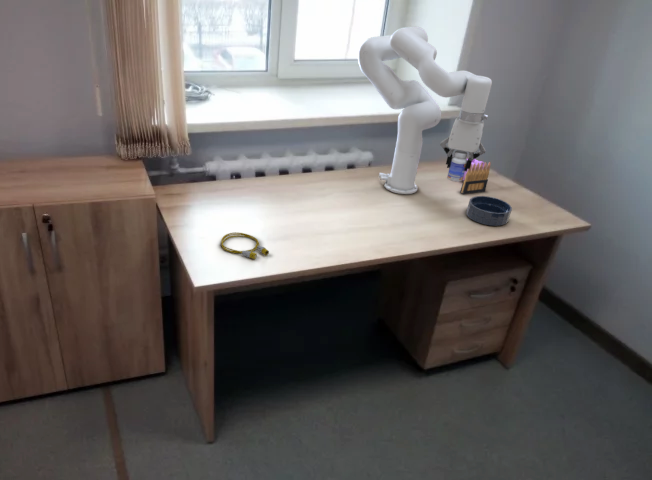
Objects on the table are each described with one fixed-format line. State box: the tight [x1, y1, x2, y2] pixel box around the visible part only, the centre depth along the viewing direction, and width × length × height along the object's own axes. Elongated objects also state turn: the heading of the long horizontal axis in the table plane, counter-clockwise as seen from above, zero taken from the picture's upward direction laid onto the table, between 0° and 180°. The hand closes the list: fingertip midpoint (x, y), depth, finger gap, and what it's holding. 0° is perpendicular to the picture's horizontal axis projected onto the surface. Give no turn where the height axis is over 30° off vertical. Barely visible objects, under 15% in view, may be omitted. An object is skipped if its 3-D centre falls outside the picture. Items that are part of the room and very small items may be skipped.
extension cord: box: [220, 232, 270, 260], centre depth 158 cm, size 12×16×2 cm
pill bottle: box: [446, 150, 468, 183], centre depth 182 cm, size 5×5×10 cm
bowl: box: [465, 195, 513, 227], centre depth 185 cm, size 14×14×5 cm
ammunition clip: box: [459, 161, 492, 195], centre depth 202 cm, size 11×2×12 cm, turn 111°
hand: (457, 168), depth 183 cm, fingers closed on pill bottle, 5 cm apart
